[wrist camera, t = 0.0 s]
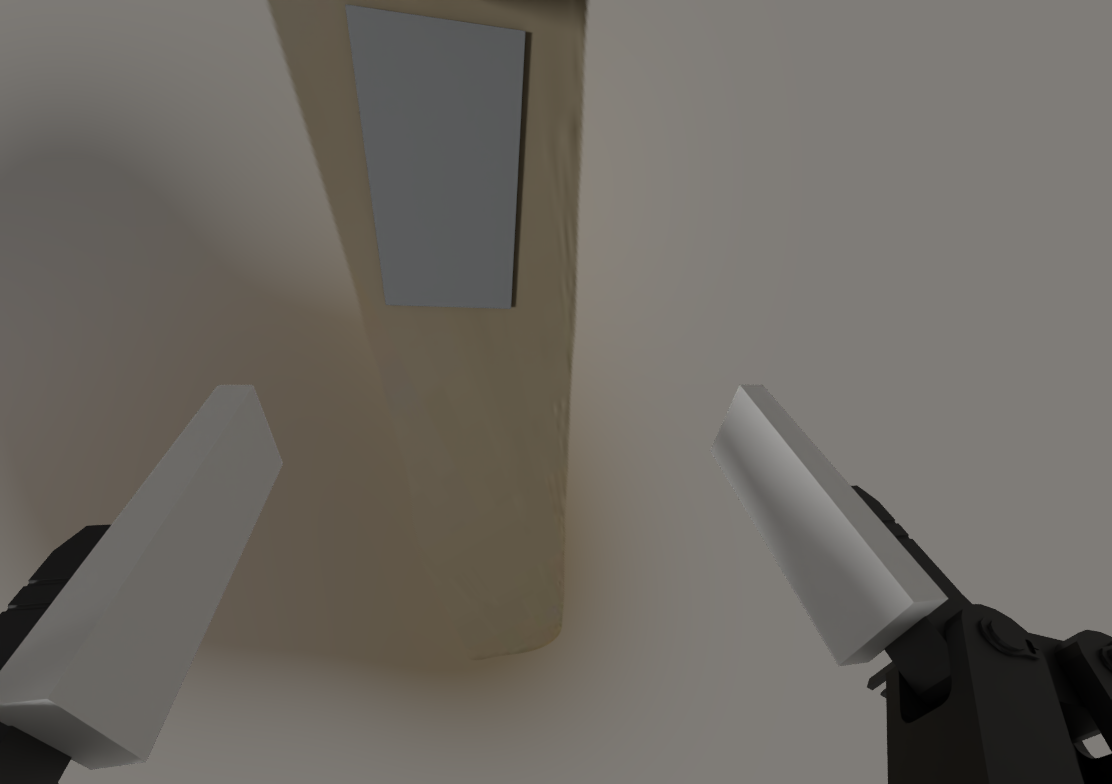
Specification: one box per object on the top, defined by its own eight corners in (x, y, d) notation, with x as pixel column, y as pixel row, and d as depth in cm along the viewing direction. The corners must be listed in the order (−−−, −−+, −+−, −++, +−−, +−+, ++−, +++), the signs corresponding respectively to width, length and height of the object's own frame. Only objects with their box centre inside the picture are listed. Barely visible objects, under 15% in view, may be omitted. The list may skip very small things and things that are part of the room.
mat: (346, 5, 27) (345, 4, 27) (524, 31, 29) (525, 31, 29) (386, 302, 39) (385, 304, 39) (510, 306, 41) (511, 308, 41)
